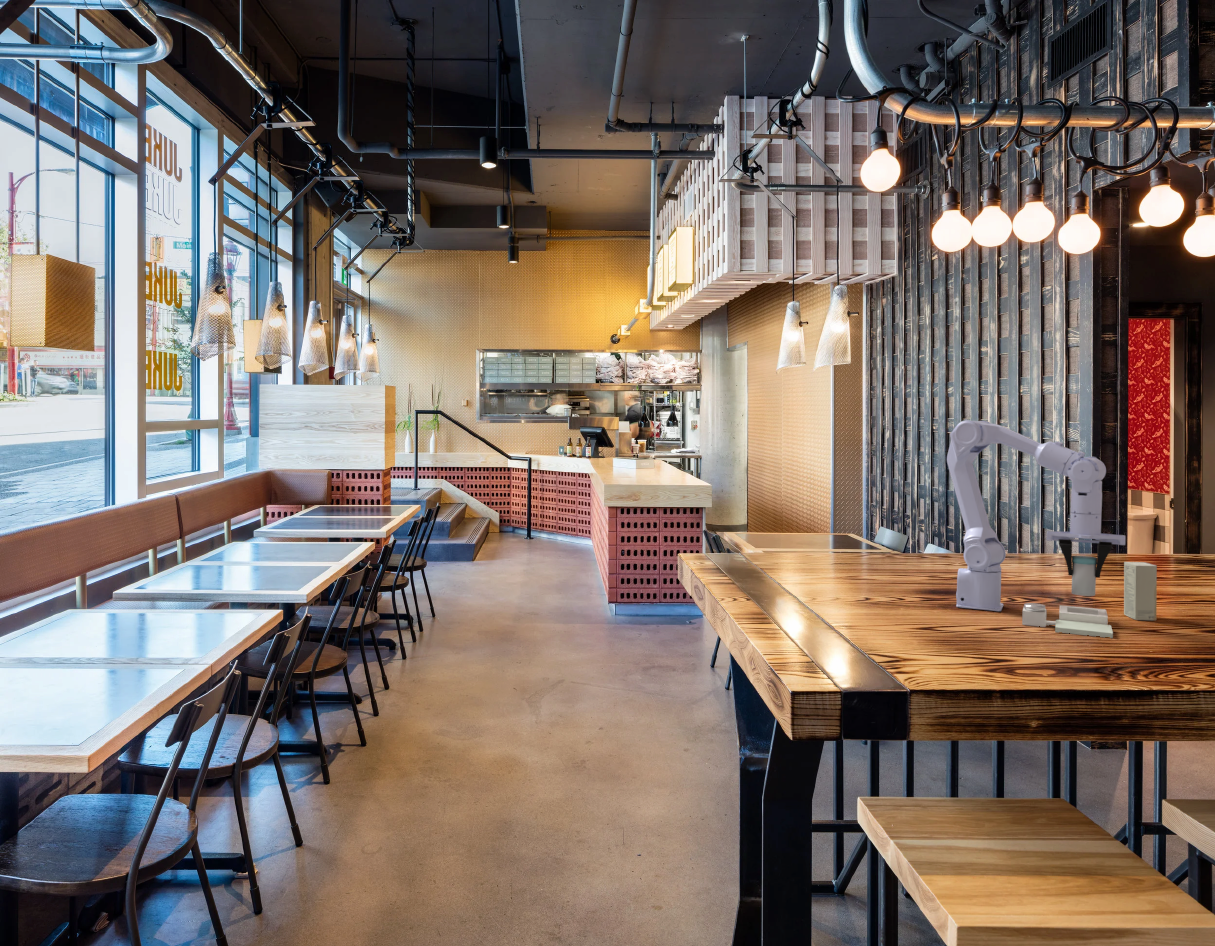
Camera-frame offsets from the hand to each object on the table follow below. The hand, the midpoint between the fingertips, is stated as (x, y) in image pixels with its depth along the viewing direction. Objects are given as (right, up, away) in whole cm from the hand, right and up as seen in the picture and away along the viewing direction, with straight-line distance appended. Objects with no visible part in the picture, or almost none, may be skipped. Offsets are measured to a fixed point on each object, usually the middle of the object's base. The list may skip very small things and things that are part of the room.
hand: (1083, 575), depth 172 cm
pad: (-4, -10, -7) cm, 14 cm away
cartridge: (0, -4, 0) cm, 4 cm away
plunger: (-11, -10, -1) cm, 15 cm away
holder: (-4, -10, 0) cm, 11 cm away
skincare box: (+16, -10, +5) cm, 19 cm away
